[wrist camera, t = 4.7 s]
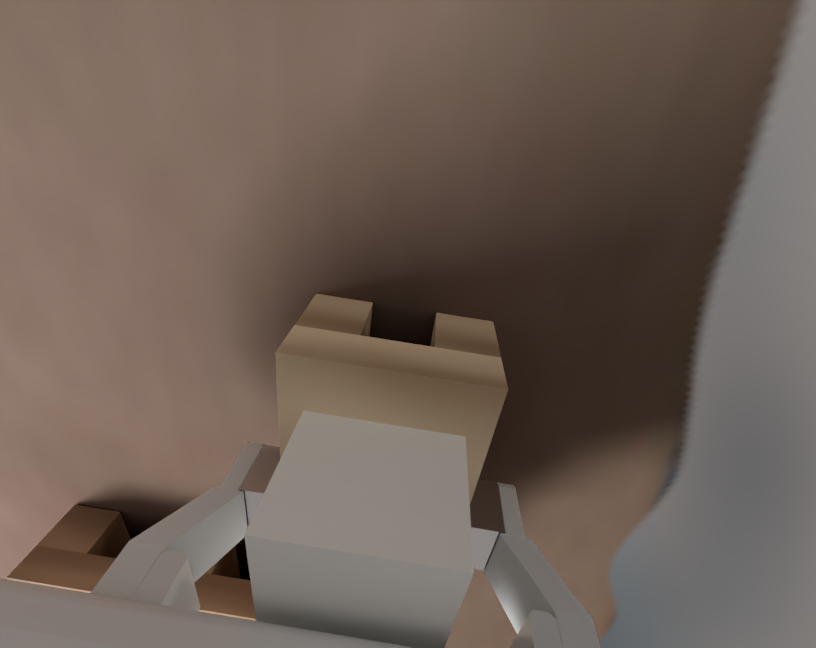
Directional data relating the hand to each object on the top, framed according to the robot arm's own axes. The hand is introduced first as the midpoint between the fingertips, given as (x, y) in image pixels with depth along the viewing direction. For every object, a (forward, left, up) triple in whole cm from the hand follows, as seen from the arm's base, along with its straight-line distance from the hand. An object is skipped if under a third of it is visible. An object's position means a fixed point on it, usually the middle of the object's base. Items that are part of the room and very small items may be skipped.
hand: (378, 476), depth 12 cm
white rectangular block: (0, 0, +1) cm, 1 cm away
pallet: (0, 0, -2) cm, 2 cm away
